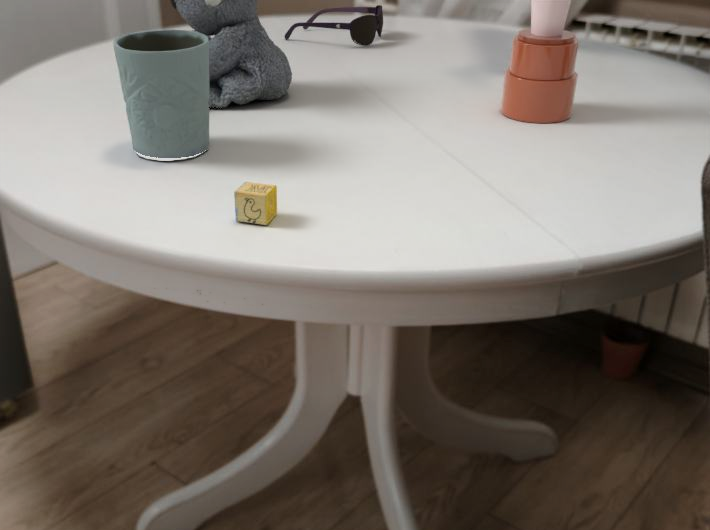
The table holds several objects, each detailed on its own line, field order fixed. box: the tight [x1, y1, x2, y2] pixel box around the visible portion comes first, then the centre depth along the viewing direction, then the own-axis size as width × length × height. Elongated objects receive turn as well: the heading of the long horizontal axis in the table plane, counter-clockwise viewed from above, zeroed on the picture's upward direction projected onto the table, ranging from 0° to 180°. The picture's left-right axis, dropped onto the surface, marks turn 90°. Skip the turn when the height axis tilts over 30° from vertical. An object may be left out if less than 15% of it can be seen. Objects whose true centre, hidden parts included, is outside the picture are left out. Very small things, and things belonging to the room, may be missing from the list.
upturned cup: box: [500, 27, 580, 124], centre depth 100 cm, size 9×9×10 cm
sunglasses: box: [284, 4, 384, 47], centre depth 138 cm, size 14×16×5 cm
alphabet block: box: [233, 181, 278, 226], centre depth 74 cm, size 3×3×3 cm
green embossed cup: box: [112, 28, 210, 158], centre depth 88 cm, size 10×10×12 cm
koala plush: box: [169, 0, 293, 109], centre depth 105 cm, size 17×18×20 cm
